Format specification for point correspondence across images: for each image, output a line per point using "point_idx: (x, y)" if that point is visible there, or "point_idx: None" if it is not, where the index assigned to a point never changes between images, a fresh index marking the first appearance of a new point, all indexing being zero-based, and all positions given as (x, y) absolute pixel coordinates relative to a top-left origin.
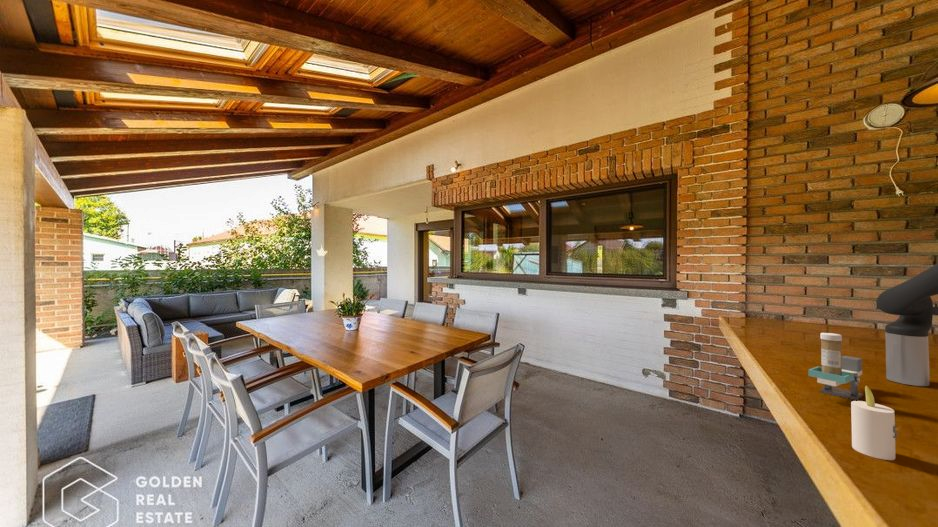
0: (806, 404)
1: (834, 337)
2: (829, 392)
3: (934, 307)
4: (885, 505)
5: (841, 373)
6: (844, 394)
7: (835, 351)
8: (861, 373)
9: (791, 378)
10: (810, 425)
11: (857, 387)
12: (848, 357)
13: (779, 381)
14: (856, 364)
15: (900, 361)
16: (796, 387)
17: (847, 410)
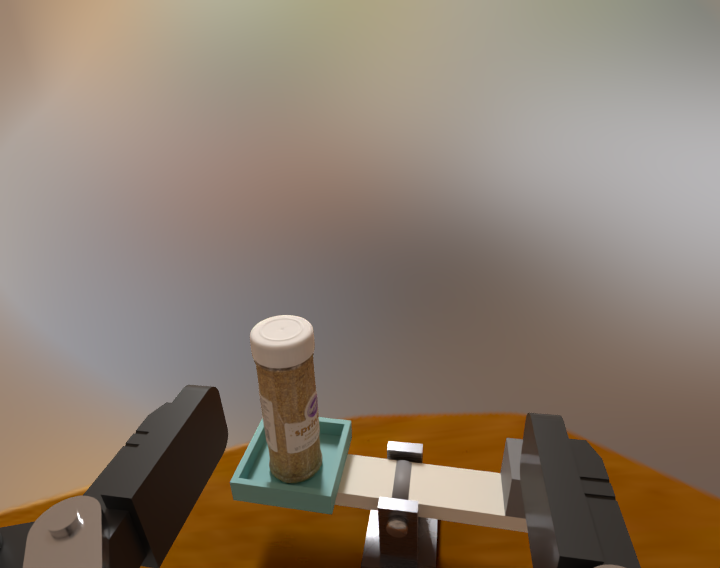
0: (210, 484)
1: (251, 345)
2: None
3: (181, 393)
4: None
5: (287, 471)
6: (367, 537)
7: (260, 394)
8: None
9: (465, 427)
10: (27, 511)
11: (410, 548)
12: None
13: (398, 415)
14: (509, 490)
15: None
16: (371, 448)
17: (220, 562)
